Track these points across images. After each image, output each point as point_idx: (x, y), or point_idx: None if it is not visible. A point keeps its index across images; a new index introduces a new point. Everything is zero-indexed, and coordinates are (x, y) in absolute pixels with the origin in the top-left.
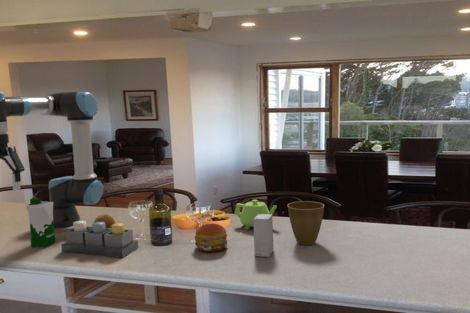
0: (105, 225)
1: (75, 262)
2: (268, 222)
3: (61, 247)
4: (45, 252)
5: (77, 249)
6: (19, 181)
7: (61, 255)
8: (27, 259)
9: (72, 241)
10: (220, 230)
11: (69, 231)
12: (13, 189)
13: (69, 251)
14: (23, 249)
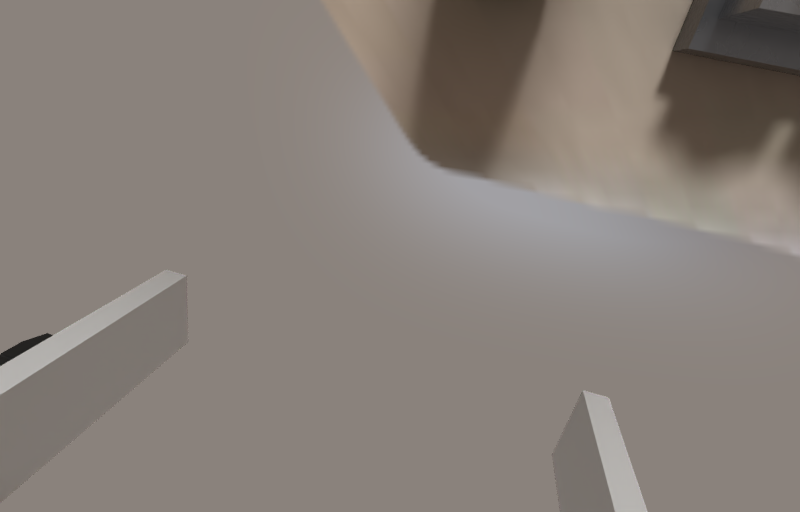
0: None
1: (791, 200)
2: None
3: (682, 48)
4: (577, 61)
5: (794, 71)
6: (639, 495)
7: (686, 104)
8: (526, 160)
9: (774, 25)
10: None
11: (792, 4)
12: (558, 471)
13: (727, 60)
14: (434, 19)
